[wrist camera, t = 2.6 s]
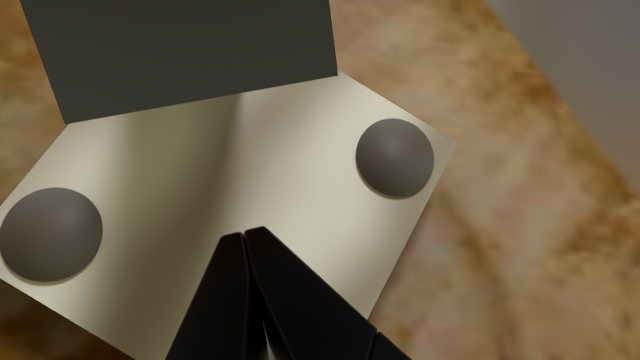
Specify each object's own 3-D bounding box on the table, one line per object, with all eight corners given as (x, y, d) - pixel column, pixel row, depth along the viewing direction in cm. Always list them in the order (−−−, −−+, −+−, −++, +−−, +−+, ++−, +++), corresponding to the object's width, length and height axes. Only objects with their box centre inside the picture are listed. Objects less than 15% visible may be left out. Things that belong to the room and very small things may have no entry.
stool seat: (433, 159, 19) (459, 142, 17) (291, 428, 16) (297, 458, 14) (198, 15, 19) (188, -23, 17) (5, 257, 16) (-43, 254, 13)
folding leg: (250, 54, 17) (338, 76, 6) (165, 68, 16) (64, 124, 5) (232, -38, 16) (297, -252, 4) (140, -27, 15) (-69, -245, 4)
